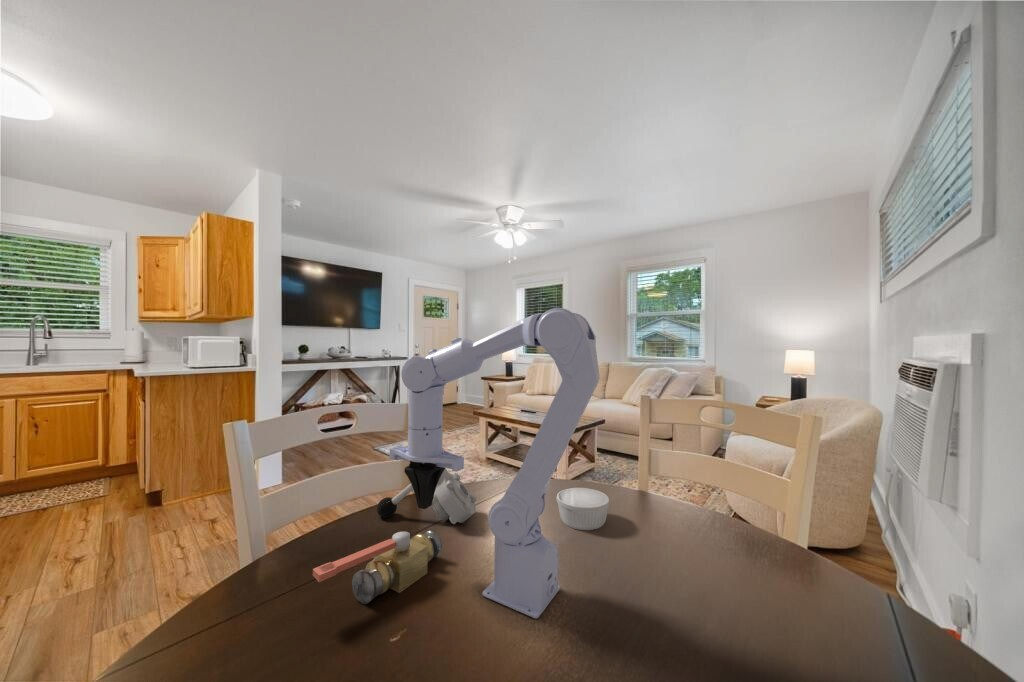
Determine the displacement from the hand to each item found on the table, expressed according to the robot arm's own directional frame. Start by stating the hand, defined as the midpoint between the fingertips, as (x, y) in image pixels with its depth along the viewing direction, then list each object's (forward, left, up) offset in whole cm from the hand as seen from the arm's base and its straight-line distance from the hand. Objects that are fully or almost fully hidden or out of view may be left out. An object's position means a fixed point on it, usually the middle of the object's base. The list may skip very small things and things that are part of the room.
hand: (425, 506), depth 65 cm
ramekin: (-17, -31, -11) cm, 37 cm away
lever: (+2, +10, -5) cm, 11 cm away
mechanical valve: (+13, -13, -11) cm, 21 cm away
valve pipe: (+1, +4, -10) cm, 11 cm away
